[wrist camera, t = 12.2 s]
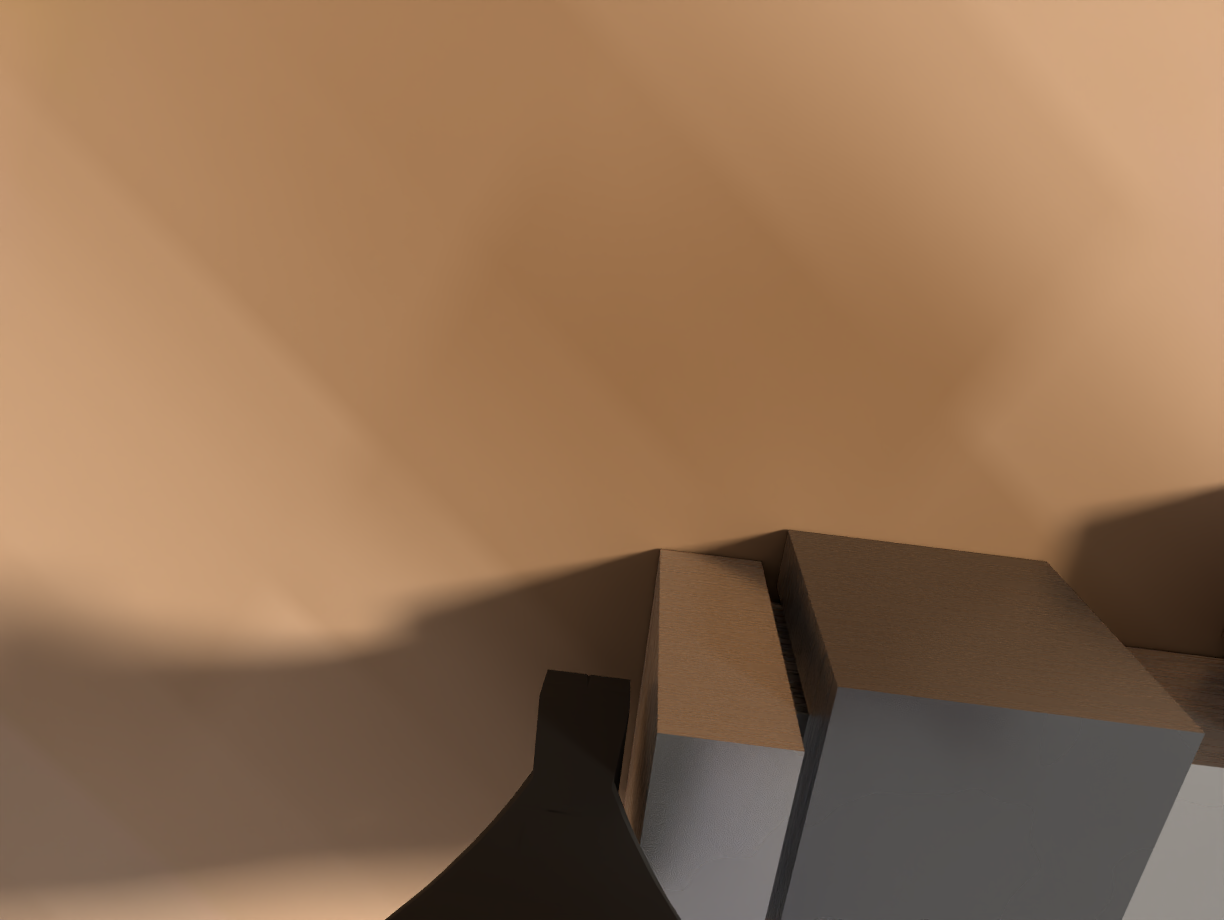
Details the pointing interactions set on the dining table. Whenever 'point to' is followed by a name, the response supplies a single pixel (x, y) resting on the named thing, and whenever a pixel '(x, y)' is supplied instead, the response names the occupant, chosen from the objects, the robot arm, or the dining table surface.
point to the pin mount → (966, 741)
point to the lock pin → (773, 751)
